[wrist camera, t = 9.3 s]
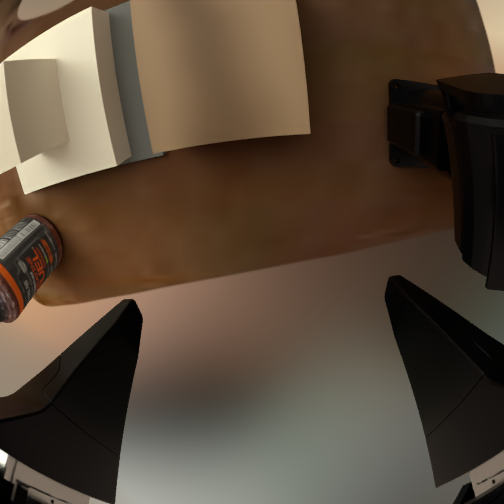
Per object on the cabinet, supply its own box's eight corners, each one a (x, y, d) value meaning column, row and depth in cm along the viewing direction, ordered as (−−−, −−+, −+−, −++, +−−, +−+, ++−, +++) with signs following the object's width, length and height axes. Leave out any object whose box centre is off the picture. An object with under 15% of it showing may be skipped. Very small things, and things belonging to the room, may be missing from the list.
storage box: (279, -13, 12) (288, -42, 8) (296, 122, 17) (310, 133, 13) (157, 6, 12) (129, -14, 8) (176, 137, 18) (153, 153, 13)
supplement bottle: (71, 266, 24) (14, 354, 14) (32, 262, 23) (-25, 337, 14) (56, 210, 20) (-24, 291, 11) (15, 212, 20) (-57, 281, 11)
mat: (142, -1, 12) (139, -3, 11) (165, 153, 18) (163, 155, 18) (5, 71, 13) (1, 72, 12) (30, 190, 19) (26, 193, 19)
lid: (108, 13, 12) (43, -8, 5) (131, 155, 18) (75, 196, 11) (18, 63, 12) (-49, 74, 6) (42, 182, 18) (-16, 225, 12)
